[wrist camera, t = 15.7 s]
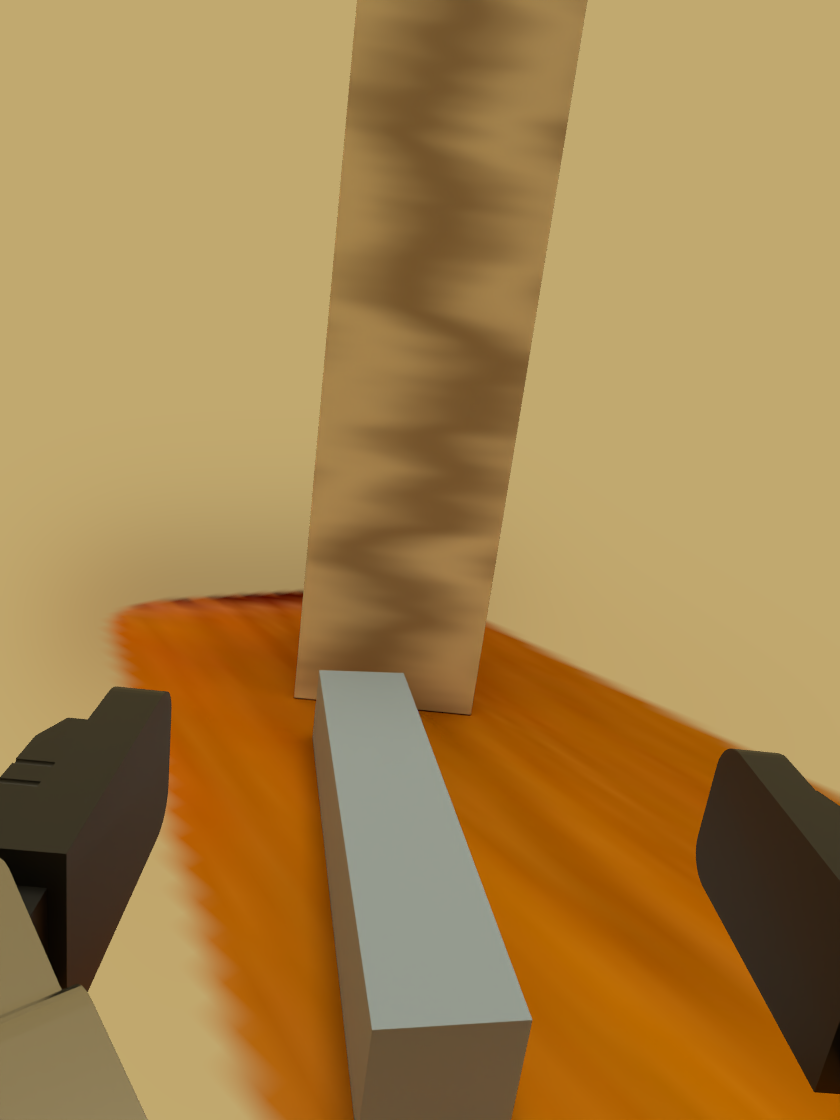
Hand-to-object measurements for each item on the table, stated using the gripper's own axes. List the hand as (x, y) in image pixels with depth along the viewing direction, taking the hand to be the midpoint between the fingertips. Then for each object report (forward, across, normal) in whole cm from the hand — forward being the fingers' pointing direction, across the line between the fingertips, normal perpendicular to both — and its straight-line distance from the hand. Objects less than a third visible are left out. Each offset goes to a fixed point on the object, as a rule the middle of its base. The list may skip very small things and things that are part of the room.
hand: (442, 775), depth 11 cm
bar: (+8, 0, +9) cm, 12 cm away
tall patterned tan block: (+21, 0, +8) cm, 23 cm away
